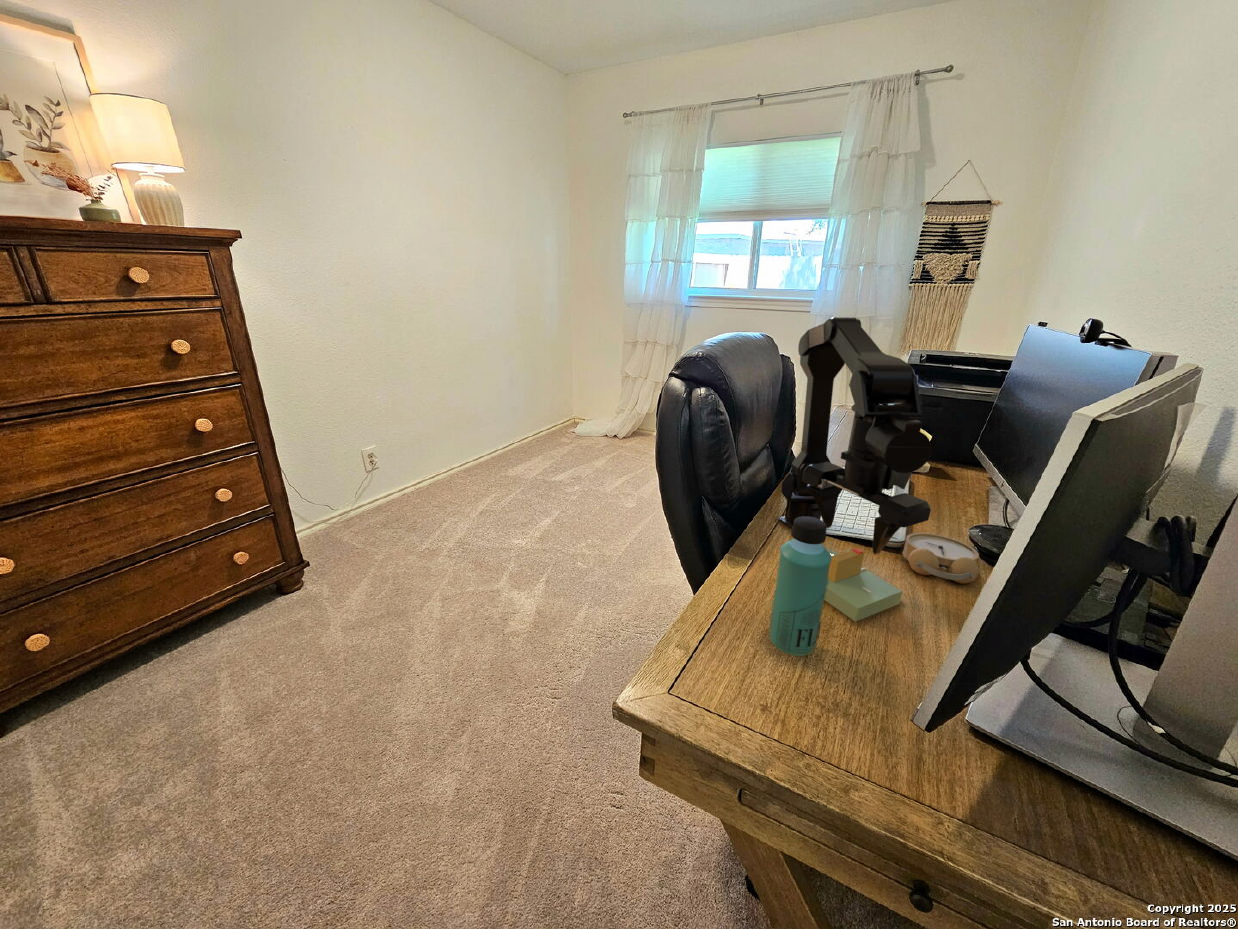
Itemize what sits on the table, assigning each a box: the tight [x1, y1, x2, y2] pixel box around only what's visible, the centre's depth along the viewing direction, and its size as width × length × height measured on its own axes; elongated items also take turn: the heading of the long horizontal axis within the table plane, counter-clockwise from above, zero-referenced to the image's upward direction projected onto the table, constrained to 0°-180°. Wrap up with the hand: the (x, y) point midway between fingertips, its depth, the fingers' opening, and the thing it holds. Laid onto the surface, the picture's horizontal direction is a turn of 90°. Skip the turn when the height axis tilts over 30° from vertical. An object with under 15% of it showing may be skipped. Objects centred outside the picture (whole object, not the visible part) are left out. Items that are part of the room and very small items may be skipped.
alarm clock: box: [902, 532, 980, 585], centre depth 86 cm, size 11×5×15 cm
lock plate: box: [824, 549, 903, 623], centre depth 80 cm, size 14×10×3 cm
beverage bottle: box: [768, 516, 831, 657], centre depth 64 cm, size 6×7×20 cm
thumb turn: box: [828, 547, 865, 582], centre depth 79 cm, size 6×2×4 cm, turn 115°
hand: (851, 539), depth 77 cm, fingers open, 9 cm apart
